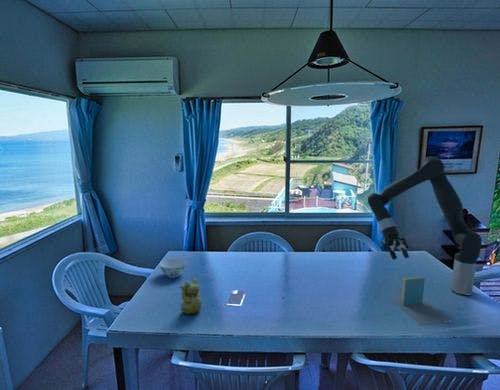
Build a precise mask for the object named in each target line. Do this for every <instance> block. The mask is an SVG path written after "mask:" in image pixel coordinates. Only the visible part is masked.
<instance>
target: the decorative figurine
mask: <svg viewBox="0 0 500 390" xmlns="http://www.w3.org/2000/svg"><path fill="white" fill-rule="evenodd" d="M179 289H181V290H182V292H181V298H182V302H181V303H180V310H181V312H183V313H185V314H186V315H187V316H190V315H193V314H196V313H198V311H200V309H201V307H202V299H201V298H202V297H201V294H200V293H199V290H200V286H199V284H198V279H197V278H195V277H194V278H193V279H192V281H191V282H190V281H188V280H185V282H184V284H181V285H180V287H179Z"/></svg>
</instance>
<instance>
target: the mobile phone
mask: <svg viewBox="0 0 500 390" xmlns="http://www.w3.org/2000/svg"><path fill="white" fill-rule="evenodd" d="M246 293H247V291H245V290H237V289H235V290H234V289H233V290H232V291H231V292H230V294H229V297H228V299H227V301H226V303H225V306H229V307H242V305H243V302H244V299H245V296H246Z"/></svg>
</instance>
